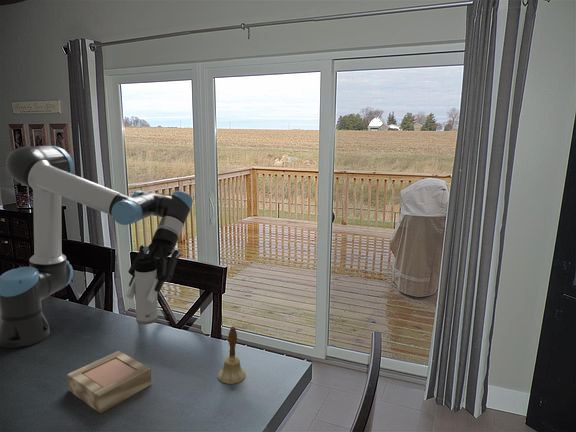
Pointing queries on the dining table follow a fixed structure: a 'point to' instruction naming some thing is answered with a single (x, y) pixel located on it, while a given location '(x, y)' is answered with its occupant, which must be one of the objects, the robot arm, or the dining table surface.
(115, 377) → the pink plate
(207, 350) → the dining table surface
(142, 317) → the travel mug
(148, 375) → the wooden tray
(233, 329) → the hand bell
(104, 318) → the dining table surface
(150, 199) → the robot arm
